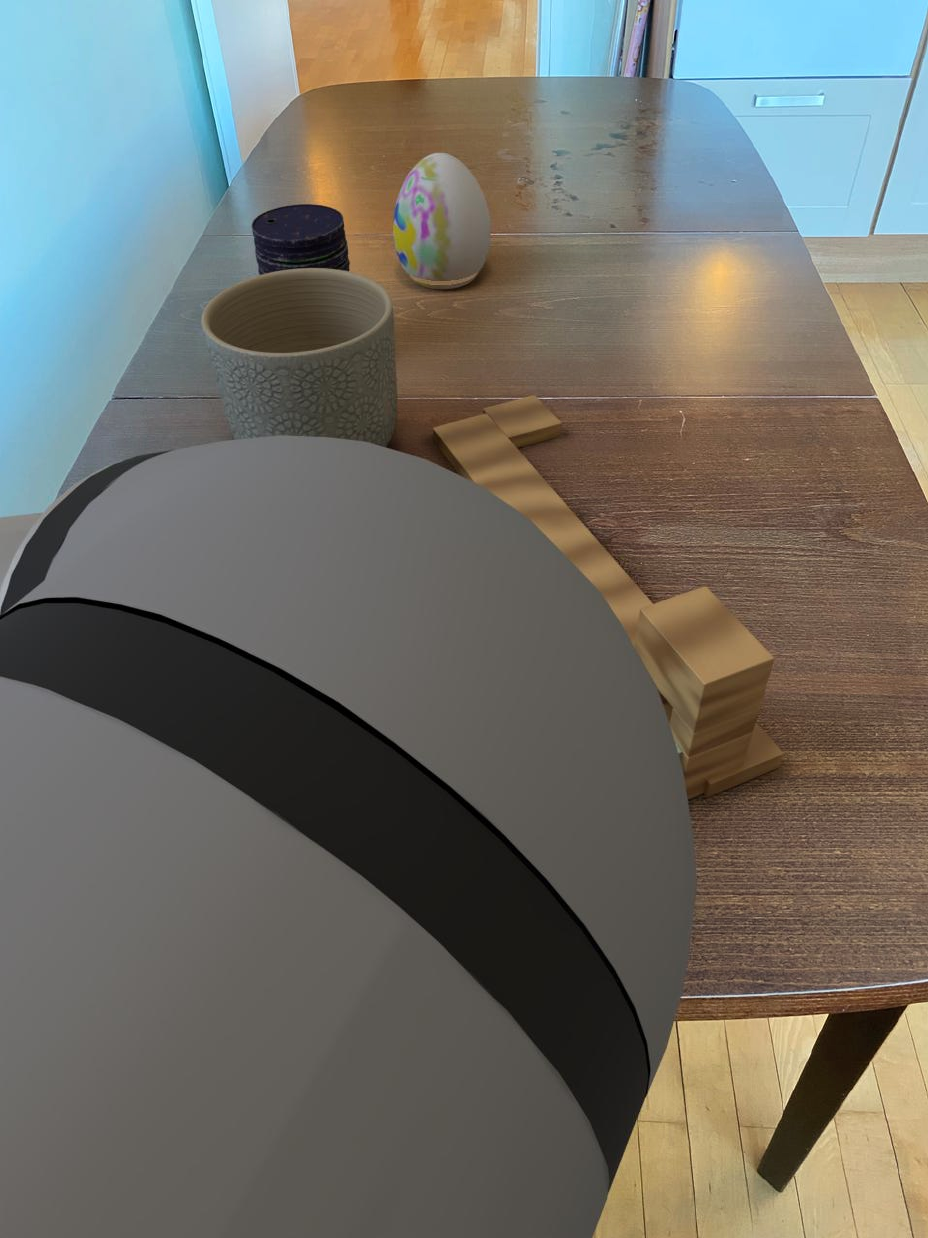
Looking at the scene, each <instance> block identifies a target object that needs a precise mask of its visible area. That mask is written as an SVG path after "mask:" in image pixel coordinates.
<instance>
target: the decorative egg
mask: <svg viewBox="0 0 928 1238" xmlns="http://www.w3.org/2000/svg"><path fill="white" fill-rule="evenodd" d="M393 213H394V214H393V221H392V222H393V223H392V231H393V232H392V233H393V242H394V247H395V251H396V255H397V257H398V260H399V262H400V263H401V266H402V269H404V271H405V273H406V274H407V273H409V274H411V275H412V276H414V277H417V278H421V279H424V280H425V279H426V280H431V281H451V280H459V279H463V278H466V277H469V276H471V275H473V274H475V273H477V272H478V271H479V270H480V269H481V268H482V269H483V267H484V264H485V262H486V260H487V257H488V254H489V251H490V246H491V236H492V235H491V234H492V233H491V232H492V231H491V230H492V229H491V226H492V225H491V217H490V212H489V207H488V203H487V201H486V197H485V195H484V192H483V189H482V188H481V186H480V184H479V182H478V180H477V179H476V177H475V176H474V175H473V173H472V171H470V169H469V168H468V167H467V166H466V165H465V164H464V163H463V162H462V161H461V160H459V158H457V157H455V156H453V155H451V154H448V153H445V152H434V153H430V154H429V155H426V156H425V157H423V158H422V159H420V160H419V161H418V162H417V163H416V164H415V165H414V167H413V168H412V169H411V170H410V171H409V173H408V174H407V176H406V177H405V180H404V181H403V183H402V185H401V188H400V190H399V192H398V195H397V198H396V202H395V206H394V211H393ZM482 269H481V270H482ZM481 270H480V271H481ZM478 275H479V273H478V274H477V275H476V276H475V277H474V278H472V279H470V280H468V281H465V282H462V283H457V284H452V285H430V284H425V283H421V282H418V281H416V280H414V279H412V278H411V277H410V279H411V280H412V281H413V282H414V283H416V284H417V285H419V286H421V287H423V288H427V289H431V290H451V289H458V288H461V287H463V286H466V285H468V284H470V283H471V282H472V281H474V280H475V279H476V277H477V276H478Z"/></svg>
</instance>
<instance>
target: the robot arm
mask: <svg viewBox="0 0 928 1238" xmlns="http://www.w3.org/2000/svg"><path fill="white" fill-rule="evenodd" d="M693 830H694V829H693V825H692V818H691V813H690V806H689V799H688V798H687V792H686V786H685V779H684V774H683V769H682V765H681V761H680V758H679V755H678V751H677V748H676V744H675V741H674V737H673V734H672V730H671V727H670V723H669V720H668V718H667V715H666V712H665V709H664V706H663V703H662V701H661V698H660V695H659V692H658V689H657V686H656V684H655V682H654V681H653V679H652V677H651V675H650V673H649V672H648V670H647V668H646V666H645V665H644V663H643V661H642V659H641V658H640V656H639V654H638V652H637V651H636V649H635V647H634V645H633V643H632V642H631V640H630V638H629V636H628V635H627V633H626V631H625V629H624V628H623V626H622V624H621V622H620V621H619V619H618V618H617V616H616V615H615V613H614V612H613V610H612V609H611V607H610V605H609V604H608V602H607V601H606V599H605V598H604V596H603V595H602V593H601V592H600V591H599V590H598V589H597V588H596V587H595V586H594V585H593V584H592V583H591V581H590V580H589V579H588V578H587V577H586V576H585V575H584V574H583V573H582V572H581V571H580V570H579V569H578V568H577V567H576V566H575V565H574V564H573V563H572V562H571V561H570V560H569V559H568V558H567V557H566V556H565V555H564V554H563V553H562V551H561V550H560V549H559V548H558V547H557V546H556V545H555V544H554V543H553V542H552V541H551V540H550V539H549V538H548V537H547V536H546V535H545V534H544V533H543V532H542V531H541V530H540V529H539V528H538V527H537V526H536V525H535V524H534V523H533V522H532V521H531V520H530V519H529V518H528V517H526V516H525V515H523V514H522V513H520V512H519V511H517V510H516V509H514V508H513V507H512V506H510V505H509V504H507V503H506V502H504V501H503V500H501V499H500V498H499V497H497V496H496V495H494V494H493V493H491V492H490V491H488V490H487V489H486V488H484V487H483V486H481V485H479V484H477V483H474V482H472V481H470V480H468V479H466V478H464V477H462V476H460V475H459V474H458V473H457V472H453V471H452V470H449V469H447V468H445V467H443V466H441V465H439V464H437V463H435V462H432V461H430V460H429V459H426V458H423V457H419V456H416V455H413V454H409V453H405V452H402V451H400V450H395V449H392V448H389V447H387V446H386V447H382V446H379V445H375V444H372V443H369V442H364V441H356V440H347V439H339V438H330V437H309V436H284V435H280V436H269V437H258V438H248V439H237V440H234V439H228V440H221V441H220V440H219V441H214V442H208V443H204V444H199V445H198V444H197V445H192V446H187V447H183V448H176V449H170V450H163V451H157V452H151V453H146V454H141V455H136V456H134V457H130V458H124V459H121V460H119V461H116V462H113V463H111V464H109V465H107V466H103V467H101V468H99V469H97V470H95V471H93V472H92V473H90V474H88V475H87V476H86V477H84V478H82V479H81V480H79V481H78V482H76V483H74V484H73V485H72V486H70V487H69V488H68V489H67V490H66V491H65V492H63V493H62V494H61V495H60V496H59V497H58V498H57V499H55V500H53V502H51V504H49V505H48V507H47V508H46V509H45V510H44V512H36V513H35V512H34V513H27V514H26V513H25V514H18V515H17V514H16V515H10V516H2V517H1V516H0V1238H593V1237H594V1235H595V1232H596V1229H597V1227H598V1224H599V1222H600V1220H601V1217H602V1214H603V1211H604V1209H605V1206H606V1203H607V1202H608V1196H609V1193H610V1190H611V1188H612V1185H613V1182H614V1180H615V1177H616V1176H617V1172H618V1170H619V1168H620V1165H621V1162H622V1160H623V1157H624V1154H625V1152H626V1150H627V1147H628V1144H629V1141H630V1140H631V1137H632V1134H633V1131H634V1129H635V1126H636V1124H637V1121H638V1118H639V1116H640V1113H641V1111H642V1108H643V1105H644V1103H645V1100H646V1098H647V1096H648V1094H649V1092H650V1090H651V1086H652V1084H653V1083H654V1081H655V1077H656V1074H657V1072H658V1070H659V1067H660V1065H661V1063H662V1060H663V1059H664V1056H665V1053H666V1051H667V1048H668V1045H669V1041H670V1037H671V1034H672V1030H673V1026H674V1023H675V1019H676V1016H677V1014H678V1013H677V1012H678V1009H679V1006H680V1001H681V998H682V996H683V995H682V994H683V991H684V985H685V979H686V975H687V974H686V973H687V968H688V962H689V956H690V950H691V943H692V933H693V923H694V916H695V915H694V914H695V906H696V905H695V904H696V896H697V887H698V884H697V883H698V882H697V880H698V879H697V864H696V861H697V860H696V849H695V848H696V846H695V837H694V831H693Z"/></svg>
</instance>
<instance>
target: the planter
mask: <svg viewBox="0 0 928 1238" xmlns="http://www.w3.org/2000/svg"><path fill="white" fill-rule="evenodd" d="M393 305H394V304H393V299H392V297H391V294H390V293H389V291H388V290H387V289H386V288H385V287H384V286H383V285H381V284H380V283H379V282H378V281H376V280H374V279H372V278H369V277H367V276H365V275H362V274H359V273H356V272H352V271H349V272H348V271H343V270H336V269H326V268H301V269H290V270H282V271H276V272H271V273H267V274H263V275H260V274H259V275H255V276H252V277H248V278H246V279H243V280H241V281H239V282H236V283H235V284H232V285H230V286H229V287H227V288H225V289H224V290H222V291H221V292H219V293H218V294H217V295H215V296H214V297H213V298H212V299H211V300H209V302H208V303H207V305H205V307H204V309H203V311H202V314H201V328H202V332H203V337H204V341H205V345H206V348H207V353H208V357H209V360H210V363H211V367H212V371H213V374H214V378H215V381H216V384H217V389H218V393H219V396H220V399H221V403H222V407H223V411H224V415H225V418H226V421H227V425H228V427H229V430H230V433H231V435H232V437H233V440H237V439H248V438H258V437H269V436H280V435H284V436H309V437H330V438H339V439H347V440H356V441H364V442H369V443H372V444H375V445H379V446H382V447H386V448H387V447H388V445H389V443H390V442H391V439H392V437H393V435H394V432H395V429H396V425H397V418H398V397H399V396H398V380H397V378H398V377H397V356H396V355H397V353H396V333H395V332H396V331H395V330H396V329H395V315H394V306H393Z"/></svg>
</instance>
